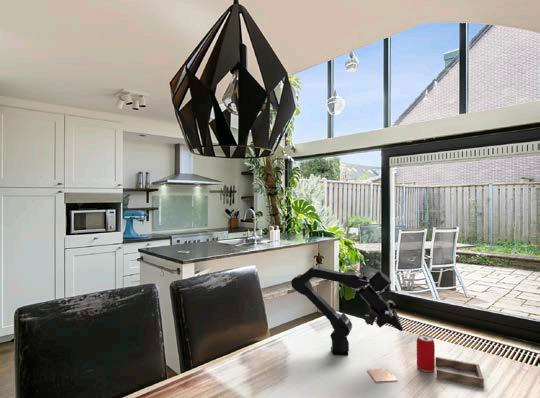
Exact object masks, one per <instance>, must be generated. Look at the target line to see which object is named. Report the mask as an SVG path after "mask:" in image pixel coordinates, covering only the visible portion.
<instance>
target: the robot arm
mask: <svg viewBox="0 0 540 398" xmlns="http://www.w3.org/2000/svg"><path fill="white" fill-rule="evenodd" d="M313 278H318V279H323V280H326V281H327V280H328V281H332V282H338V283H340V284H343V285H344V286H346V287H348V288H350V289H353V290H354V293H355V295H354V297H355V298H358V297H359V296H360V297H361V298H362V299H363V300H364V301H365V302H366V303H367V305H368V309H369V310H370V311H369V313H368V314H365V316H364V317H363V320H364V323H365V324H366V325H370V326H373V325H374V324H376V325H377V327H379V328H382V327H383V326H385V324H387V325H390V326H392V327H393V328H395V329H396V330H398V331H400V332H402V331H404V328H403V326H402V322H401V320H400V318H399V315H398V313H397V310H396V308H394V309H393V310H392V308H393V307H395V306H396V303H395V302H394V301H393V300H392V299H391V300H390V299H389V300H387V301H385V300H384V299H383V296H382V295H381V294H379V293H381V292H382V293H383V291H384V290H385V289H387V288H388V287H389V286H390V285H392V281H391V279H390V277H388V276H387V274H385V273H383V272H382V271H381V270H377V271H376V273H374V275H372V276H371V277H370V276H367V275H363V274H362V273H361V272H359V271H345V272H342V271H336V270H331V269H327V268H321V267H317V266H312V267H310V268H309V269H308V270H307V271H305V272H303V274H302V273H301V274H298V275H297V276H294V277H293V278H292V280H291V288H292V289H293V290H295V291H296V292H297V293H298V294H301V295H303V296H305V297H307V299H308V300H309V301H310V302H311V303H312V304H313V305H314V306H315V307H316V308H317V309H318V310H319V312H321V313H322V315H323V316H324V317H325V318H326V319H327V320H328V321H329V322H330V325H331V326H332V329H333V330H332V331H331V333H330V340H331V347H330V349H331V354H332V355H333V356H335V355H336V356H348V355H349V351H350V349H349V347H350V346H349V345H350V342H349V339H348V336H349V335H350V333H351V331H352V328H353V323H352V321H351V318H349V317H348V316H347V315H346V313H344V312H342V313H341V314H340V313H338V312H337V311H336V310H335V309H334V308H333V307H332V306H331V305H330V304H329V303H328V302H327V301H326V300H325V299H324V298H323V297H322V296H321V295H320V294H319V293H318V292H317V291H316V290H315V289H314V288H313V285H312V283H311V281H310V280H311V279H313ZM375 320H376V321H375ZM374 322H376V323H374Z"/></svg>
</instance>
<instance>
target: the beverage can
mask: <svg viewBox="0 0 540 398" xmlns="http://www.w3.org/2000/svg"><path fill="white" fill-rule="evenodd" d="M435 350H436V349H435V340H434V338H433V337H432V336H430V335H427V334H419V335H418V336H417V339H416V367H417V369H419V370H420V371H422V372H426V373H430V372H431V373H432V372H433V371H436V369H435V368H436V364H435V357H436V356H435V354H436V351H435Z"/></svg>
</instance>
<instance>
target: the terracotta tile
mask: <svg viewBox="0 0 540 398" xmlns="http://www.w3.org/2000/svg"><path fill="white" fill-rule="evenodd" d="M367 373H368V374H369V376H370V377H371V378H372V379H373V381H374V382H375V383H376V384H379V383H394V382H395V383H396V382H399V381H398V379H397V378H396V377H395V375H394V374H393V373H392V372H391V371H390V370H389V368H373V369H367Z"/></svg>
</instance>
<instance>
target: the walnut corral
mask: <svg viewBox="0 0 540 398" xmlns="http://www.w3.org/2000/svg"><path fill="white" fill-rule="evenodd" d="M435 366H437V368H436V369H435V371H436V375H435V376H436V377H435V378H436V379H439V380H445V381H449V382H454V383H457V384H458V383H459V384H463V385H466V386H467V385H468V386H472V387H473V386H474V387H477V388H483V389H484V388H485V386H484V383H485V382H484V377H483V376H484V375H483V373H482V369H481V366H480V364H479V363H473V362H468V361H463V360H456V359H452V358H446V357H440V356H435Z"/></svg>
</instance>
